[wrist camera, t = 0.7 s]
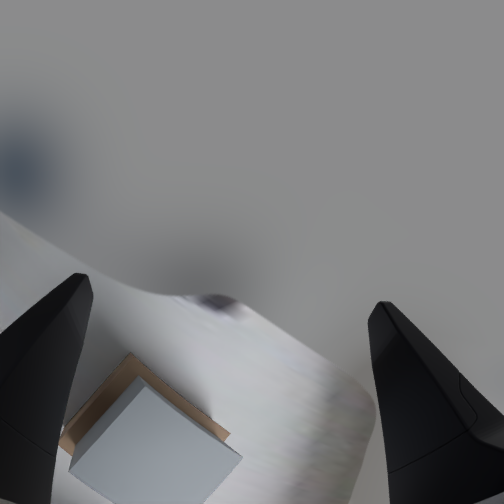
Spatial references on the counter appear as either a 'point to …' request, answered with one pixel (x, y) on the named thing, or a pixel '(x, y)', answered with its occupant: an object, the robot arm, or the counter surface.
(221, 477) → the slate slab
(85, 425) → the walnut slab
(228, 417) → the counter surface
